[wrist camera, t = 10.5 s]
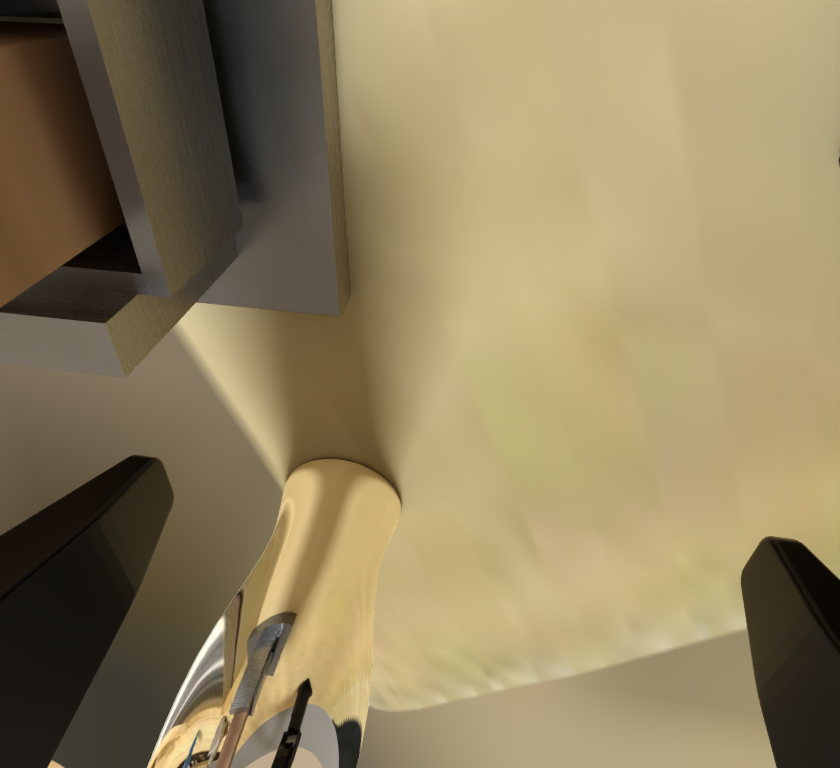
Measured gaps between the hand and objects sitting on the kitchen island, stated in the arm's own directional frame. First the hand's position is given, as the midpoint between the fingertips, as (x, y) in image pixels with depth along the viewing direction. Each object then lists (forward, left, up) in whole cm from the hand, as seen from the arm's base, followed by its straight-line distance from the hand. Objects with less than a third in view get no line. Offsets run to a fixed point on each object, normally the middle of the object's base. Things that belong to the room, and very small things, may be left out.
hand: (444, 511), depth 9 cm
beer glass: (+6, +16, -13) cm, 22 cm away
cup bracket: (+11, -2, -13) cm, 17 cm away
